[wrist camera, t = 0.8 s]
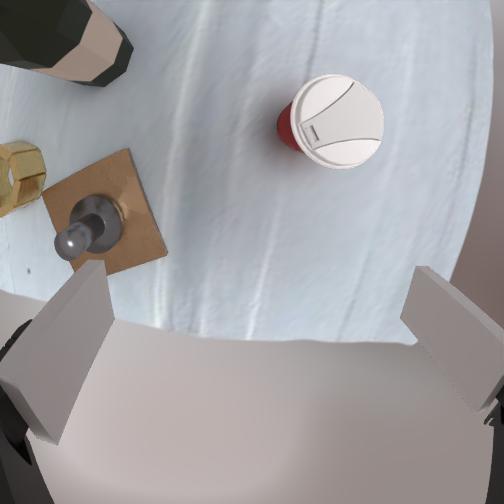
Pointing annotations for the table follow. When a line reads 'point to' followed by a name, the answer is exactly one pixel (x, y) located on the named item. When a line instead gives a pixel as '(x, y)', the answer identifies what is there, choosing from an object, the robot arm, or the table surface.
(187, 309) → the table surface
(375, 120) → the paper cup
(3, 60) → the wine bottle
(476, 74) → the table surface
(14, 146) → the collar
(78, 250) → the doorknob
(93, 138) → the table surface
